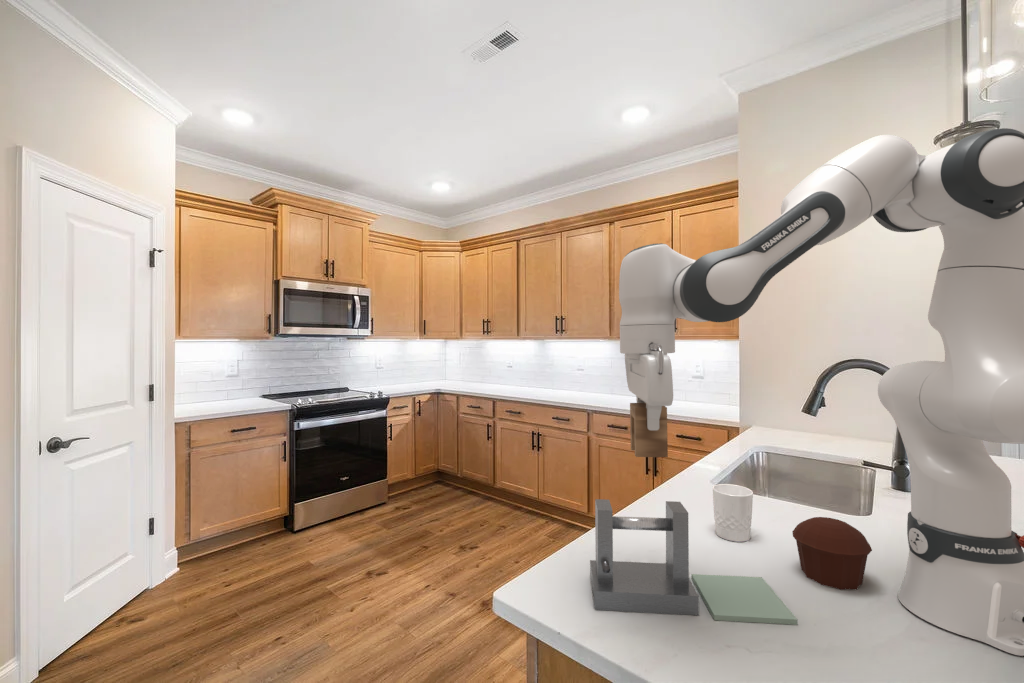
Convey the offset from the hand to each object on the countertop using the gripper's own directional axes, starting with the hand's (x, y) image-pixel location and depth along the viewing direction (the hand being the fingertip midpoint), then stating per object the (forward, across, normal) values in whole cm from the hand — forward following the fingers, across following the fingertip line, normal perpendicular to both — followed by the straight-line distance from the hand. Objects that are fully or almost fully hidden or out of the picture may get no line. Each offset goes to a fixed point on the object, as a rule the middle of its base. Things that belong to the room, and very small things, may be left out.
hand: (648, 425), depth 76 cm
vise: (+28, 0, +2) cm, 29 cm away
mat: (+29, 0, -14) cm, 32 cm away
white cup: (+29, +25, -22) cm, 44 cm away
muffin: (+29, +9, -33) cm, 45 cm away
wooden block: (+5, 0, 0) cm, 5 cm away
